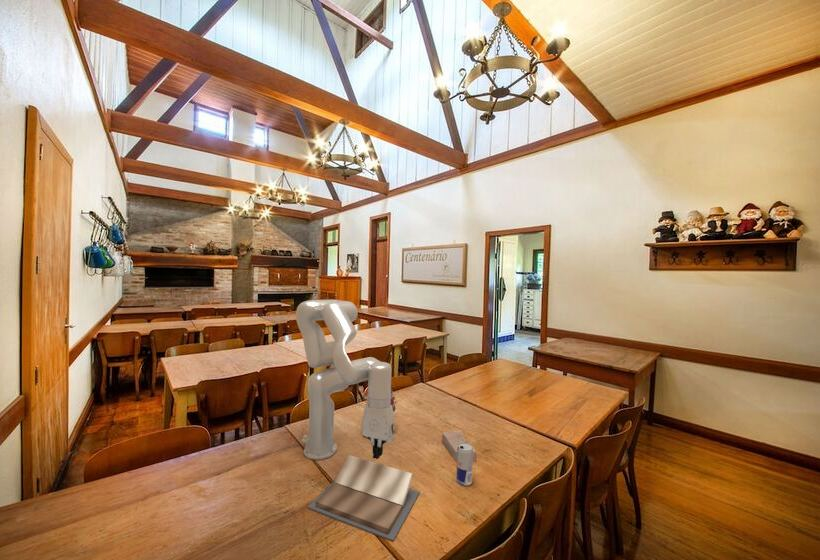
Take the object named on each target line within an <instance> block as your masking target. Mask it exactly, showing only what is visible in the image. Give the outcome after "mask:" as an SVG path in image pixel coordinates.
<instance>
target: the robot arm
mask: <svg viewBox="0 0 820 560" xmlns="http://www.w3.org/2000/svg"><path fill="white" fill-rule="evenodd" d="M358 313H359V312H358V307H357V306H356V305H355V304H354V303H353V302H352V301H349V300H340V299H309V300H306V301H305V300H304V301H303V302H300V304H298V306H297V307H296V312H295V319H296V324H297V326H298V329H299V331H300V333H301V334H300V335H301V336H302V341H303V347H304V352H305V358H306V362H307V364H308V366H309V367H310V368H312V369H317V368H323V367H328V366H331V368H326V369H323V370H322V369H321V370H319V371H316V372H314V373H312V374H311V375H309V377H308V379H307V390H308V399H309V400H308V403H309V407H308V409H309V411H308V413H309V415H308V434H303V436H302V438H301V441H300V442H301V443H302V444H305V446H304V448H303V455H304V456H305V458H307V459H310V460H314V461H315V460H316V461H317V460H325V459H328V458H330V457H332V456H333V455H335V454H336V452H337V450H338V445H337V443H336V442H335V441H334V429H335V428H334V426H335V403H334V401H333V399H332V397H330V396H331V394H334V393H337V392H339V391H343V390H346V389H348V387H349V386H351V385H352V386H353V385H356V384H359V383H362V382H366V381H367V394H365V395H364V399H365V400H366V402H367V403H365V405H364V408H363V413H362V420H361V434H362V435H363V436H364V437H365V438H368V440H369V441H370V445H371V446H372V450H371V451H372V458H373V459H375V460H379V458H380V457H382V455H383V454H384V453H383V449H384V445H385V443H387V444H389V443H392V442H393V441H394V433H395V429H394V428H395V419H394V417H395V416H394V413H393V408H392V405H390V400H391V391H392V366H391V364H390V363H389V362H386V361H381V360H378V359H377V358H376V357H373V356H368V357H364V358H358V359H354V360H353V359H352V360H351V359H350V357H349V356H348V354H347V352H346V347H347V345H348V344H350V343H351V342H352V341H354V339H355V337H357V328H355V326H354V324H353V322H354V321H356V320H357V318H358V315H359V314H358ZM316 321H324V323H325V325H326V327H327V329H328V331H329V333H330V335H331V337H332V338H333V341H326V336H325V332H324V330H323V329H322V327H321V326H320V324H319V323H317V322H316Z"/></svg>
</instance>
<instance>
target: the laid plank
mask: <svg viewBox="0 0 820 560" xmlns="http://www.w3.org/2000/svg"><path fill="white" fill-rule="evenodd" d="M316 507H318V508H320V509H323V510H326V511H328V512H331V513H334V514H336V515H339V516H341V517H344V518H347V519H349V520H352V521H354V522H357V523H360V524H362V525H365V526H368V527H370V528H373V529H375V530H378V531H381V532H383V533H386V534H389V532H390V531H391V529H392V527H393V525H394V524H395V522H396V520H397V518H398V517H399V515H400V513H401V511H402V506H400V505H397V504H394V503H391V502H388V501H385V500H382V499H380V498H377V497H374V496H371V495H368V494H365V493H362V492H359V491H356V490H353V489H350V488H347V487H344V486H341V485H338V484H335V483H334V484H333V485H332V486H331V487H330V488H329V489H328V490H327V491H326V492H325V493H324V494H323V495H322V496H321V497H320V498H319V499H318V500H317V501H316Z"/></svg>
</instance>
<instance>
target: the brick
mask: <svg viewBox="0 0 820 560" xmlns="http://www.w3.org/2000/svg"><path fill="white" fill-rule="evenodd" d="M441 442H442V444H443V446H444V447H445V448H446V450H447V452H449V454H450V456H451V457H452V458H453V460H454V461H455V462H456V463H457V448H458V445H459V444H460V443H468V444H470V445H472V444H471V443H470V442H469V441H468V439H466V438H465V436H464V434H463V433H462V431H461V430H458V429H457V430H456V429H455V430H449V431H444V432H441ZM472 447H473V463H475V462H476V461H477V459H476V458H477V451H476V449H475V448H474V446H473V445H472Z"/></svg>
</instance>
